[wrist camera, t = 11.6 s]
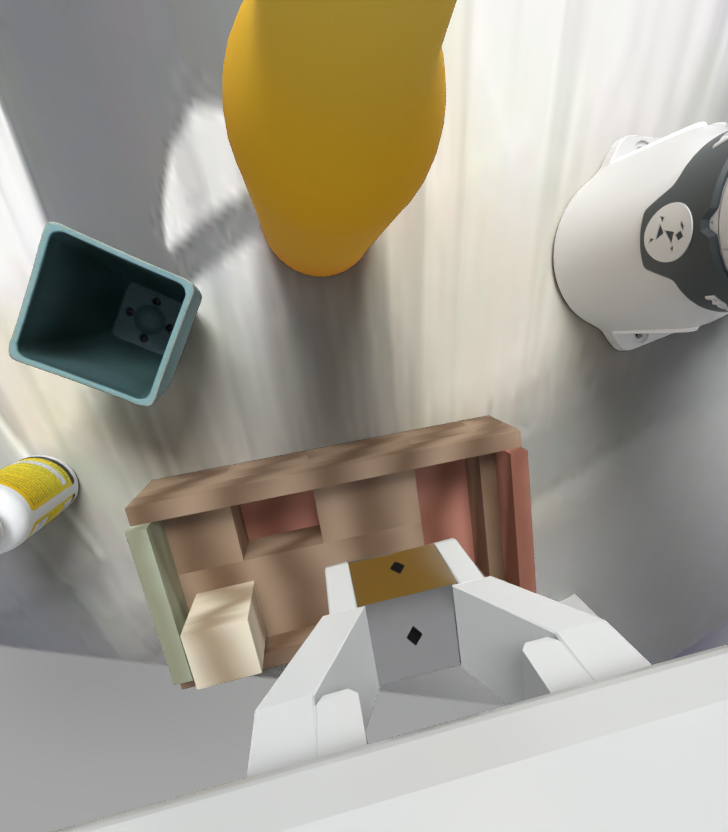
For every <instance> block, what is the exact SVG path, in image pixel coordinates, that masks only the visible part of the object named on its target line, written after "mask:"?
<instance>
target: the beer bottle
mask: <svg viewBox="0 0 728 832" xmlns="http://www.w3.org/2000/svg"><path fill="white" fill-rule="evenodd" d="M456 1H457V0H244V1H243V3H242V4H241V6H240V9H239V12H238V14H237V17H236V19H235V22H234V25H233V27H232V30H231V33H230V35H229V38H228V42H227V48H226V54H225V60H224V66H223V111H224V117H225V123H226V129H227V135H228V139H229V142H230V145H231V148H232V151H233V154H234V157H235V160H236V163H237V165H238V167H239V170H240V172H241V174H242V177H243V179H244V182H245V184H246V187H247V190H248V192H249V195H250V197H251V200H252V203H253V205H254V208H255V210H256V213H257V216H258V218H259V221H260V225H261V228H262V231H263V234H264V237H265V239H266V241H267V242H268V244H269V246H270V248H271V249H272V251H273V252H274V253H275V254H276V256H277V257H278V258H279V259H280V260H281V261H283V262H284V263H285V264H286V265H287V266H289V267H290V268H292V269H294V270H295V271H298V272H300V273H303V274H305V275H310V276H316V277H321V276H331V275H336V274H338V273H341V272H343V271H346V270H347V269H349V268H350V267H352V266H353V265H355V264H356V263H357V262H358V261H359V260H360V259H361V258H362V257H363V255H364V254H365V252H366V251H367V249H368V248H369V247H370V246H371V245H372V244H373V243H374V241H375V240H376V239H377V238H378V237H379V236H380V235H381V234H382V232H383V231H384V230H385V229H386V228H387V227H388V226H389V224H390V223H391V222H392V221H393V220H394V219H395V218H396V217H397V215H398V214H399V213H400V212H401V211H402V210H403V209H404V208H405V207H406V206H407V205H408V204H409V203H410V201H411V200H412V199H413V197H414V196H415V194H416V193H417V191H418V190H419V188H420V187H421V185H422V184H423V182H424V180H425V178H426V176H427V174H428V172H429V169H430V167H431V165H432V163H433V161H434V158H435V155H436V153H437V149H438V145H439V141H440V138H441V134H442V129H443V125H444V116H445V106H446V82H445V66H444V58H443V52H442V47H441V46H442V43H443V40H444V37H445V34H446V31H447V28H448V25H449V22H450V19H451V16H452V13H453V10H454V7H455V4H456Z"/></svg>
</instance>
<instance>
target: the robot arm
mask: <svg viewBox="0 0 728 832" xmlns="http://www.w3.org/2000/svg"><path fill="white" fill-rule="evenodd" d="M727 126H728V124H727V123H726V122H719V123H714V124H711V125H709V126H708V125H707V123H706V122H700V123H696V124H693V125H691V126H688V127H686V128H684V129H682V130H679V131H677V132H675V133H673V134H670V135H668V136H666V137H664V138H661V139H658V138H651V137H643V136H636V135H629V136H626V137H623V138H621V139H619V140H617V141H616V142H615V143H614V144H613V145H612V146H611V148H610V150H609V151H608V153H607V155H606V157H605V159H604V161H603V163H602V165H601V167H600V169H599V171H598V172H597V173H596V174H595V175H594V176H593V177H592V178H591V179H590V180H589V181H588V182H587V183H586V184H585V185H584V186H583V187H582V188H581V189H580V190H579V191H578V192H577V193H576V195H575V196H574V197H573V198H572V200H571V201H570V203H569V204H568V206H567V208H566V210H565V212H564V214H563V216H562V218H561V221H560V223H559V226H558V229H557V233H556V238H555V243H554V270H555V276H556V280H557V284H558V286H559V289H560V291H561V294H562V296H563V298H564V299H565V301H566V302H567V304H568V305H569V307H570V308H571V309H572V310H573V311H574V312H575V313H576V314H577V315H578V316H579V317H581V318H582V319H583V320H585V321H587V322H588V323H590V324H592V325H594V326H596V327H597V328H599V329H600V330H601V331H602V332H603V334H604V335H605V337H606V338H607V340H608V341H609V343H610V344H611V345H612V346H613V347H614V348H615V349H617V350H619V351H626V350H632V349H635V348H637V347H640V346H643V345H645V344H648V343H650V342H653V341H655V340H658V339H660V338H663V337H665V336H668V335H670V334H673V333H678V332H692V331H697V330H698V328H699V327H700V326H701V325H705V324H708V323H710V322H713V321H715V320H717V319H719V318H721V317H723V316H725V315H727V314H728V128H727ZM635 334H637V336H635ZM348 564H349V566H348ZM349 570H350V571H349ZM325 576H326V586H327V596H328V606H329V615H325V616H323V617H322V618H321V619H320V621H319V622H318V623H317V625H316V626H315V628H314V629H313V630H312V632H311V633H310V635H309V636H308V637H307V639H306V640H305V642H304V643H303V644H302V646H301V647H300V649H299V650H298V651H297V653H296V654H295V656H294V657H293V658H292V660H291V661H290V663H289V664H288V665H287V667H286V668H285V670H284V671H283V672H282V674H281V675H280V677H279V678H278V679H277V681H276V682H275V684H274V685H273V686H272V688H271V689H270V691H269V692H268V693H267V695H266V696H265V697H264V699H263V700H262V702H261V703H260V704H259V706H258V707H257V709H256V710H255V716H254V724H253V732H252V740H251V748H250V756H249V765H248V773H247V778H243V779H240V780H237V781H232V782H229V783H225V784H222V785H218V786H214V787H211V788H208V789H204V790H200V791H197V792H193V793H189V794H186V795H182V796H178V797H175V798H171V799H168V800H164V801H160V802H157V803H153V804H149V805H146V806H143V807H139V808H135V809H132V810H128V811H124V812H121V813H117V814H113V815H110V816H107V817H103V818H99V819H95V820H92V821H89V822H85V823H81V824H77V825H74V826H70V827H66V828H63V829H59V830H56V831H52V832H728V644H726V645H722V646H719V647H715V648H712V649H708V650H705V651H701V652H697V653H694V654H690V655H686V656H683V657H679V658H675V659H672V660H668V661H665V662H661V663H657V664H654V665H651V664H650V663H649V662H648V661H647V660H646V659H645V658H644V657H643V656H642V655H641V654H640V653H639V652H638V651H637V650H636V649H635V648H634V647H633V646H632V645H631V644H630V643H629V642H627V641H626V640H625V639H624V638H623V637H622V636H621V635H620V634H619V633H618V632H617V631H616V630H615V629H614V628H613V627H612V626H611V625H610V624H609V623H608V622H607V621H606V620H603V619H601V618H598V617H596V616H593V615H590V614H588V613H585V612H583V611H580V610H577V609H575V608H572V607H570V606H567V605H565V604H562V603H559V602H557V601H554V600H552V599H549V598H546V597H544V596H541V595H539V594H536V593H533V592H531V591H528V590H526V589H523V588H521V587H518V586H515V585H513V584H510V583H508V582H505V581H502V580H500V579H497V578H495V577H492V576H489V577H484V576H483V575H482V573H481V572H480V571H479V569H478V568H477V567H476V565H475V564H474V563H473V561H472V560H471V559H470V557H469V556H468V555H467V553H466V552H465V551H464V549H463V548H462V547H461V545H460V544H459V543H458V541H457V540H456V539H454V538H450V539H446V540H442V541H439V542H435V543H432V544H428V545H424V546H420V547H416V548H412V549H408V550H404V551H400V552H396V553H392V554H391V553H389V554H384V555H379V556H374V557H369V558H364V559H359V560H354V561H349V562H348V563H347V562H344V563H339V564H335V565H331V566H327V567H325ZM459 665H461V667H462V668H463V669H465V670H466V671H467V672H468V673H470V674H471V675H472V676H474V677H475V678H476V679H477V680H479V681H480V682H481V683H483V684H484V685H485V686H487V687H488V688H489V689H490V690H492V691H493V692H494V693H496V694H497V695H498V696H499V697H501V698H502V699H503V700H505V701H506V702H507V703H508V704H509V705H506V706H502V707H499V708H495V709H492V710H488V711H484V712H481V713H477V714H474V715H470V716H467V717H463V718H459V719H456V720H453V721H449V722H445V723H442V724H438V725H435V726H431V727H427V728H424V729H420V730H417V731H413V732H409V733H406V734H402V735H398V736H395V737H391V738H388V739H384V740H380V741H377V742H373V743H370V744H368V743H367V737H366V732H365V731H366V728H367V725H368V722H369V719H370V716H371V713H372V710H373V708H374V704H375V702H376V698H377V696H378V693H379V690H380V688H379V686H383V685H386V684H389V683H393V682H396V681H400V680H403V679H406V678H410V677H413V676H416V675H420V674H424V673H429V672H433V671H437V670H442V669H446V668H450V667H455V666H459Z"/></svg>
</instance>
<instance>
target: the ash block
mask: <svg viewBox="0 0 728 832" xmlns="http://www.w3.org/2000/svg"><path fill="white" fill-rule="evenodd" d="M266 631H267V627H266V623H265V619H264V615H263V611H262V607H261V604H260V600H259V596H258V592H257V588H256V584H255V580H254V581H250V582H245V583H241V584H237V585H233V586H228V587H224V588H220V589H216V590H211V591H207V592H203V593H199V594H196V596H195V599H194V602H193V604H192V607H191V609H190V612H189V614H188V617H187V620H186V622H185V625H184V627H183V630H182V633H181V635H180V637H181V641H182V644H183V647H184V650H185V653H186V656H187V659H188V662H189V665H190V668H191V672H192V675H193V678H194V681H195V684H196V687H197V690H198V689H202V688H206V687H209V686H214V685H218V684H222V683H225V682H229V681H233V680H237V679H241V678H244V677H248V676H252V675H256V674H260V673H262V668H263V659H264V650H265V641H266Z"/></svg>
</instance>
